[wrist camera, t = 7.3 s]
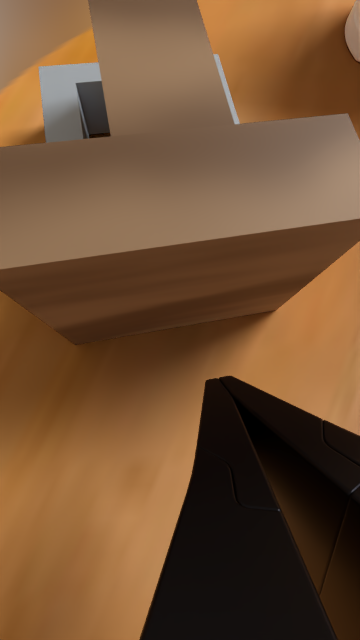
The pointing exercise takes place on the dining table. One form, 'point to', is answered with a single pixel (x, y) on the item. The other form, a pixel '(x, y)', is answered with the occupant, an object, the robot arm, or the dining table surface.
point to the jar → (353, 31)
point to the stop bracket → (83, 101)
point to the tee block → (172, 193)
